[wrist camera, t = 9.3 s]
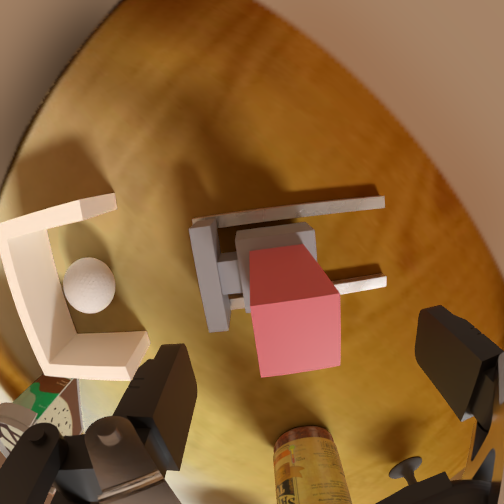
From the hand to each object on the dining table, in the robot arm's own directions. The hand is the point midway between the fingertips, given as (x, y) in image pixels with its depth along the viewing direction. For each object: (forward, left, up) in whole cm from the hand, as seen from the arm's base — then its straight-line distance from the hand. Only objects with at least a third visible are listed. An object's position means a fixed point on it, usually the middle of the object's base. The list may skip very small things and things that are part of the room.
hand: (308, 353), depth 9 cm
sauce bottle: (-1, +20, -12) cm, 23 cm away
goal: (+14, 0, -12) cm, 19 cm away
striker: (+1, 0, -11) cm, 11 cm away
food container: (+24, +12, -12) cm, 30 cm away
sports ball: (+13, 0, -12) cm, 18 cm away
